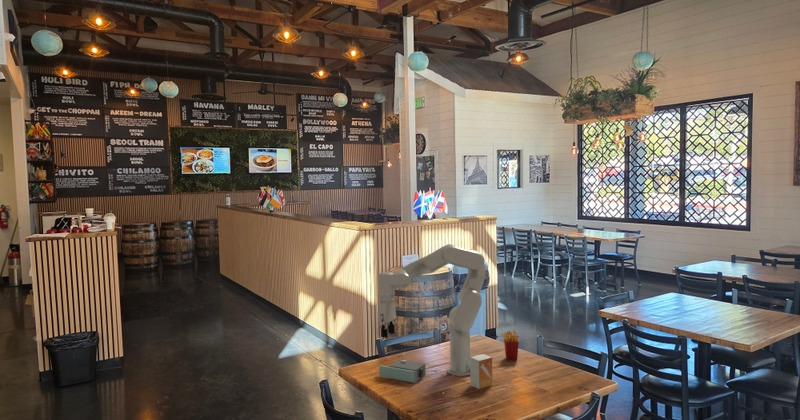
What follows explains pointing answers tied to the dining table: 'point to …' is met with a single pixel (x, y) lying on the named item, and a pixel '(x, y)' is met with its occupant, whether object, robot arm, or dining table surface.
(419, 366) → the box
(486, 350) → the dining table surface
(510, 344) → the french fries
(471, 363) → the small box
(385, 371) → the door
